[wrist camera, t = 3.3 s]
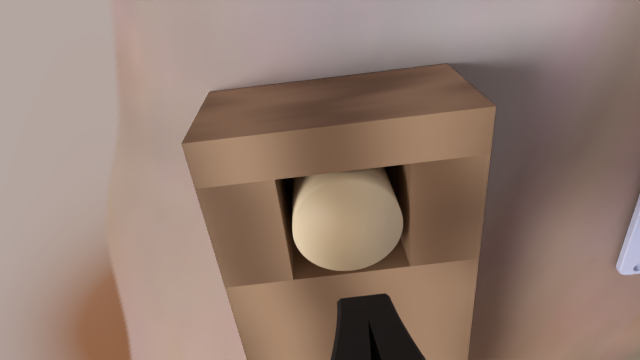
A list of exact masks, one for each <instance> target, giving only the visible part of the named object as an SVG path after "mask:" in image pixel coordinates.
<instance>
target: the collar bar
mask: <svg viewBox="0 0 640 360" xmlns="http://www.w3.org/2000/svg"><path fill="white" fill-rule="evenodd" d="M495 112H496V106H495V105H494V104H493V103H492V102H491V101H489V100H488V99H487V98H486V97H485V96H484V95H483V94H481V93H480V92H479V91H478V90H477V89H476V88H475V87H473V86H472V85H471V84H470V83H469V82H468V81H466V80H465V79H464V78H463V77H462V76H461V75H460V74H458V73H457V72H456V71H455V70H454V69H453V68H452V67H450V66H449V65H448V64H439V65H431V66H422V67H414V68H406V69H397V70H389V71H381V72H372V73H364V74H356V75H347V76H339V77H331V78H323V79H314V80H306V81H298V82H289V83H281V84H273V85H264V86H256V87H248V88H239V89H231V90H223V91H214V92H209V93H208V95H207V97H206V99H205V101H204V103H203V104H202V106H201V108H200V110H199V112H198V114H197V116H196V117H195V119H194V121H193V123H192V125H191V127H190V129H189V131H188V132H187V134H186V136H185V138H184V140H183V142H182V147H183V151H184V154H185V157H186V161H187V164H188V167H189V170H190V174H191V177H192V180H193V184H194V187H195V190H196V193H197V197H198V200H199V203H200V207H201V210H202V213H203V217H204V220H205V223H206V226H207V230H208V233H209V236H210V240H211V243H212V246H213V249H214V253H215V256H216V259H217V263H218V266H219V269H220V272H221V276H222V279H223V282H224V286H225V289H226V292H227V296H228V299H229V302H230V305H231V309H232V312H233V315H234V319H235V322H236V325H237V328H238V332H239V335H240V338H241V342H242V345H243V348H244V352H245V355H246V358H247V360H331V355H332V350H333V345H334V339H335V332H336V323H337V301H338V300H339V299H341V298H348V297H357V296H366V295H375V294H384V293H386V294H387V295H389V296H390V298H391V301H392V303H393V305H394V307H395V309H396V311H397V313H398V315H399V317H400V319H401V320H402V322H403V324H404V326H405V327H406V329H407V331H408V333H409V334H410V336H411V337H412V339H413V341H414V342H415V344H416V345H417V347H418V348H419V350H420V351H421V353H422V354H423V356H424V357H425V359H426V360H468V352H469V343H470V335H471V326H472V317H473V308H474V299H475V290H476V281H477V272H478V263H479V254H480V246H481V237H482V228H483V219H484V210H485V201H486V192H487V183H488V174H489V165H490V157H491V148H492V139H493V130H494V121H495ZM378 167H385V169H386V173H387V175H388V178H389V180H390V183H391V186H392V188H393V191H394V194H395V196H396V199H397V202H398V204H399V207H400V209H401V213H402V216H403V230H402V234H401V237H400V239H399V241H398V243H397V245H396V246H395V247H394V249H393V250H392V251H391V252H390V253H389V254H388V255H387V256H386V257H384V258H383V259H382V260H380V261H379V262H377V263H375V264H373V265H371V266H368V267H366V268H362V269H358V270H352V271H336V270H330V269H326V268H323V267H320V266H318V265H316V264H314V263H312V262H311V261H309V260H308V259H307V258H306V257H304V256H303V255H302V253H301V252H300V251H299V249H298V248H297V246H296V244H295V242H294V238H293V232H292V209H293V201H292V195H291V189H290V183H289V178H293V177H302V176H310V175H319V174H327V173H335V172H344V171H352V170H361V169H369V168H378Z"/></svg>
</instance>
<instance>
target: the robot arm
mask: <svg viewBox="0 0 640 360" xmlns="http://www.w3.org/2000/svg"><path fill="white" fill-rule="evenodd" d="M616 269H617V270H618V272H619V273H620V274H622V275H631V274H640V195H639V198H638V201H637V204H636V207H635V210H634V213H633V216H632V219H631V222H630V225H629V228H628V231H627V234H626V237H625V240H624V243H623V246H622V249H621V252H620V255H619V258H618V261H617V264H616ZM331 360H426V359H425V357H424V356H423V354H422V353H421V351H420V350H419V348H418V347H417V345H416V344H415V342H414V341H413V339H412V337H411V336H410V334H409V333H408V331H407V329H406V327H405V326H404V324H403V322H402V320H401V319H400V317H399V315H398V313H397V311H396V309H395V307H394V305H393V303H392V301H391V298H390V296H389V295H387V294H386V293H384V294H375V295H366V296H357V297H348V298H341V299H339V300H338V301H337V323H336V332H335V339H334V345H333V350H332V355H331Z"/></svg>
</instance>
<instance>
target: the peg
mask: <svg viewBox="0 0 640 360" xmlns="http://www.w3.org/2000/svg"><path fill="white" fill-rule="evenodd" d="M402 230H403V216H402V213H401V209H400V207H399V204H398V202H397V199H396V196H395V194H394V191H393V188H392V186H391V183H390V180H389V178H388V175H387V173H386V170H385V167H378V168H369V169H361V170H352V171H344V172H335V173H327V174H319V175H310V176H302V177H293V209H292V232H293V238H294V242H295V244H296V246H297V248H298V249H299V251H300V252H301V253H302V255H303V256H304V257H306V258H307V259H308V260H309V261H311V262H312V263H314V264H316V265H318V266H320V267H323V268H326V269H330V270H336V271H352V270H358V269H362V268H366V267H368V266H371V265H373V264H375V263H377V262H379V261H380V260H382V259H383V258H384V257H386V256H387V255H388V254H389V253H390V252H391V251H392V250H393V249H394V247H395V246H396V245H397V243H398V241H399V239H400V237H401V234H402Z"/></svg>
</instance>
